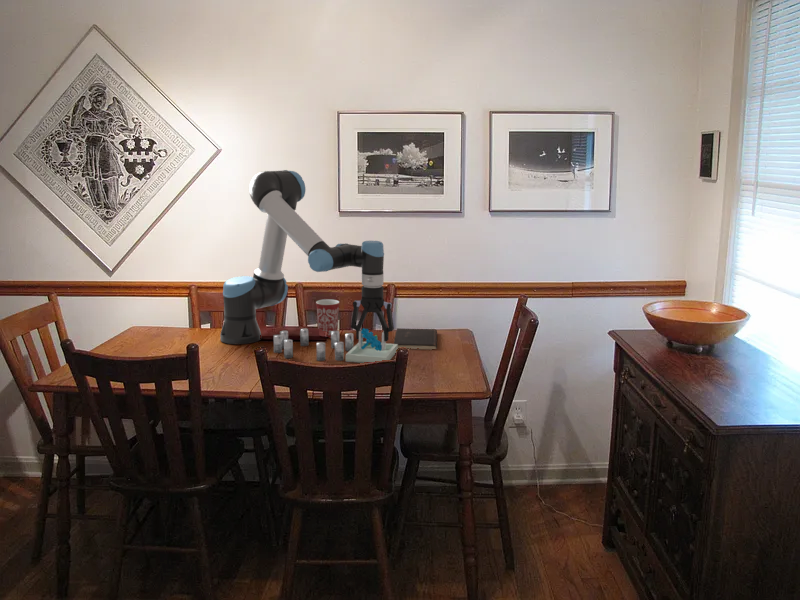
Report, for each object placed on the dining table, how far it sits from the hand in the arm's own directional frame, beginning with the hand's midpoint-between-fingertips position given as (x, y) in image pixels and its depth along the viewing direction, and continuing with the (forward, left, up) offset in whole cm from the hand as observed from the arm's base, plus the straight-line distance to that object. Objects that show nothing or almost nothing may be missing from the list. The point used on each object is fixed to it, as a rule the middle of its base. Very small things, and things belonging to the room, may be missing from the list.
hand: (372, 348), depth 255 cm
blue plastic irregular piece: (0, 0, 0) cm, 0 cm away
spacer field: (-22, -1, -3) cm, 22 cm away
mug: (-24, +24, -3) cm, 34 cm away
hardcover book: (+11, +24, -3) cm, 26 cm away
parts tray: (0, 0, -3) cm, 3 cm away
